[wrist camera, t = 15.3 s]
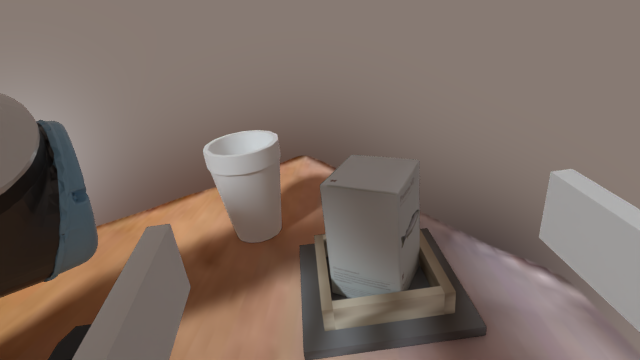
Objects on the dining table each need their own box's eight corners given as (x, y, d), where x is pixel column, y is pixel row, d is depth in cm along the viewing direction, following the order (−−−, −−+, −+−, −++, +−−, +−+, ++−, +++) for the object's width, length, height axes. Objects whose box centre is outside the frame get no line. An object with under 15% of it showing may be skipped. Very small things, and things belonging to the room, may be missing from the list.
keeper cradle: (305, 360, 34) (299, 331, 32) (300, 252, 48) (296, 228, 47) (485, 335, 34) (488, 304, 32) (427, 234, 48) (427, 210, 47)
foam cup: (211, 240, 53) (187, 152, 47) (254, 208, 60) (237, 128, 54) (266, 256, 48) (245, 160, 43) (305, 219, 55) (292, 133, 50)
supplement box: (401, 313, 36) (398, 194, 31) (330, 294, 39) (316, 183, 34) (422, 266, 42) (422, 158, 36) (358, 252, 45) (349, 152, 40)
